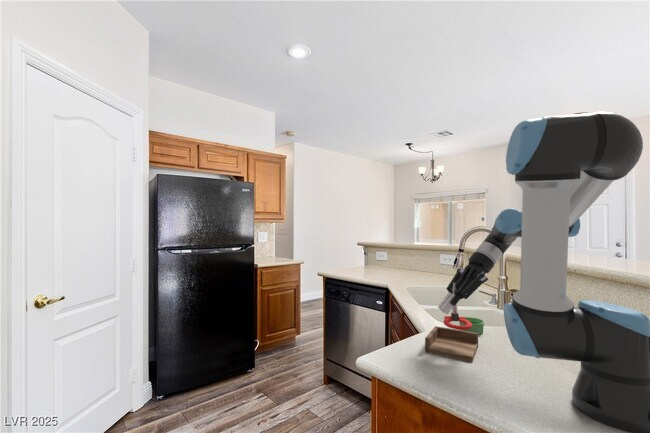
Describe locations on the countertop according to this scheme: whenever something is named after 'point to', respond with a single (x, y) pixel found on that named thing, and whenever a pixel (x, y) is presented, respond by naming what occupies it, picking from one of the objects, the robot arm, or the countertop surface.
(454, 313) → the tow hook
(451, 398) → the countertop surface
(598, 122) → the robot arm
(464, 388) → the countertop surface
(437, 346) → the wooden tray
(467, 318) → the ramekin
